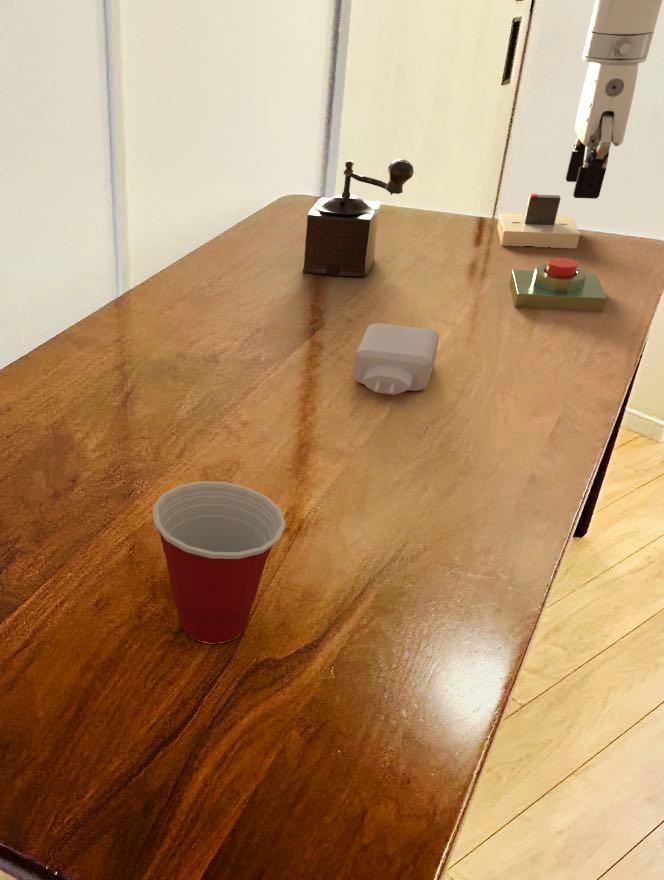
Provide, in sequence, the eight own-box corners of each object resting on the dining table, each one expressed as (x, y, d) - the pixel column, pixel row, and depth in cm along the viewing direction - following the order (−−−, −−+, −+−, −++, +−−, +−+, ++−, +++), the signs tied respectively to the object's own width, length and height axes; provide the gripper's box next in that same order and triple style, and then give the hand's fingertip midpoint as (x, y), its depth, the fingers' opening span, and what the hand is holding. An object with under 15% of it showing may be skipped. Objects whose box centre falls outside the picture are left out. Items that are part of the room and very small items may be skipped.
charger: (342, 404, 112) (364, 354, 123) (419, 415, 108) (434, 363, 120) (346, 369, 109) (368, 321, 120) (425, 379, 106) (440, 329, 117)
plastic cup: (295, 653, 76) (307, 539, 69) (172, 676, 75) (170, 562, 68) (254, 576, 85) (260, 468, 78) (142, 595, 83) (138, 486, 76)
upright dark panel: (553, 222, 156) (559, 193, 153) (554, 224, 155) (561, 196, 152) (523, 221, 157) (529, 193, 154) (524, 223, 156) (530, 195, 153)
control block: (592, 287, 138) (599, 261, 136) (602, 312, 131) (610, 286, 128) (509, 283, 141) (514, 258, 139) (514, 307, 133) (520, 281, 131)
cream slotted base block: (568, 230, 160) (572, 214, 158) (576, 248, 152) (580, 232, 151) (497, 227, 163) (500, 212, 161) (501, 245, 155) (504, 230, 153)
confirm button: (572, 270, 135) (575, 258, 134) (576, 279, 132) (579, 268, 131) (544, 268, 136) (546, 257, 135) (547, 278, 133) (549, 266, 132)
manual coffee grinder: (299, 274, 148) (308, 158, 137) (314, 252, 156) (323, 141, 145) (396, 283, 143) (413, 163, 132) (406, 260, 151) (422, 146, 141)
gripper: (663, 58, 108) (621, 208, 119) (636, 36, 122) (600, 173, 132) (595, 58, 110) (559, 206, 121) (576, 37, 124) (545, 172, 134)
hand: (581, 188), depth 126 cm, fingers open, 7 cm apart
